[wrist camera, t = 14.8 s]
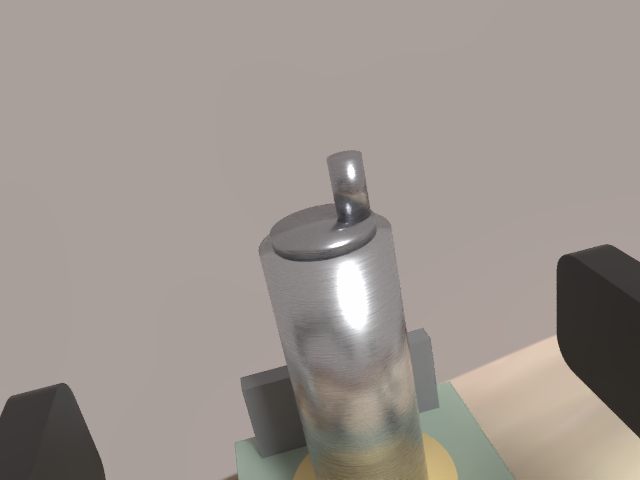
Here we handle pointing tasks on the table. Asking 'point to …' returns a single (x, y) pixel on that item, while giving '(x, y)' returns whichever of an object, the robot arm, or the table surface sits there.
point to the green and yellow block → (435, 418)
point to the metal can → (346, 333)
